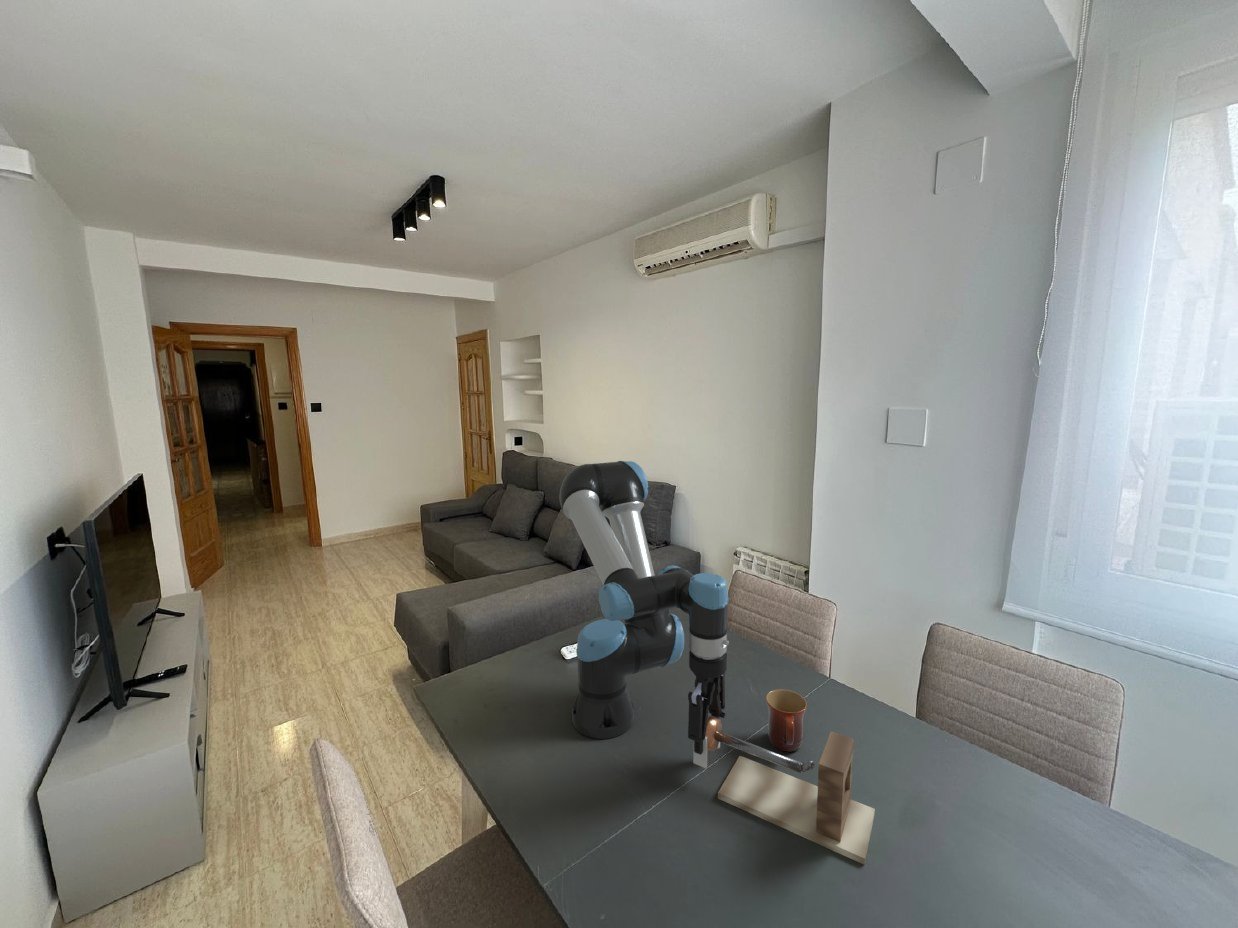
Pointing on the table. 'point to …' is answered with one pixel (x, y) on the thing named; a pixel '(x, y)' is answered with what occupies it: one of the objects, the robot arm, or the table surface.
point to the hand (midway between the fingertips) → (707, 754)
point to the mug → (785, 719)
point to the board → (794, 806)
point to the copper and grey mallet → (750, 747)
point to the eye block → (834, 786)
